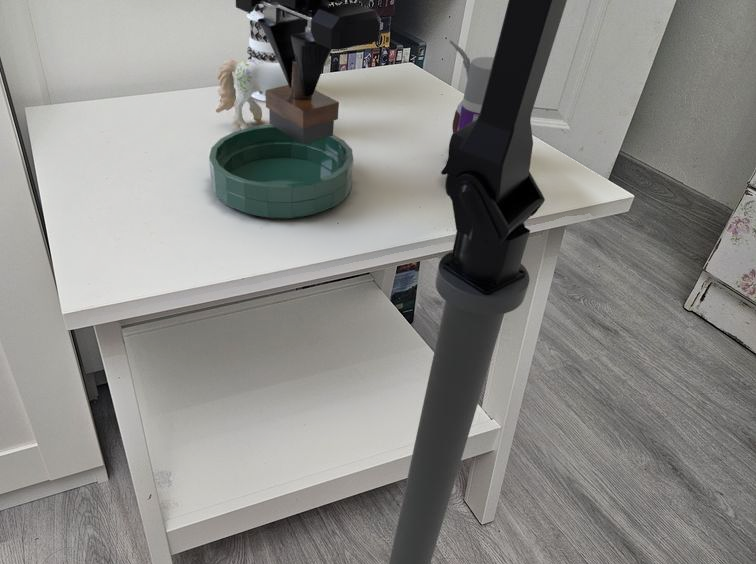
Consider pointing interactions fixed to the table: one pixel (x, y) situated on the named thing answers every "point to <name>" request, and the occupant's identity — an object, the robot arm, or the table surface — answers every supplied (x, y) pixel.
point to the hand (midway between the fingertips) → (301, 91)
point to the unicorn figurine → (248, 85)
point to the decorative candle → (259, 44)
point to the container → (475, 90)
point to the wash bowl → (280, 173)
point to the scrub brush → (301, 111)
